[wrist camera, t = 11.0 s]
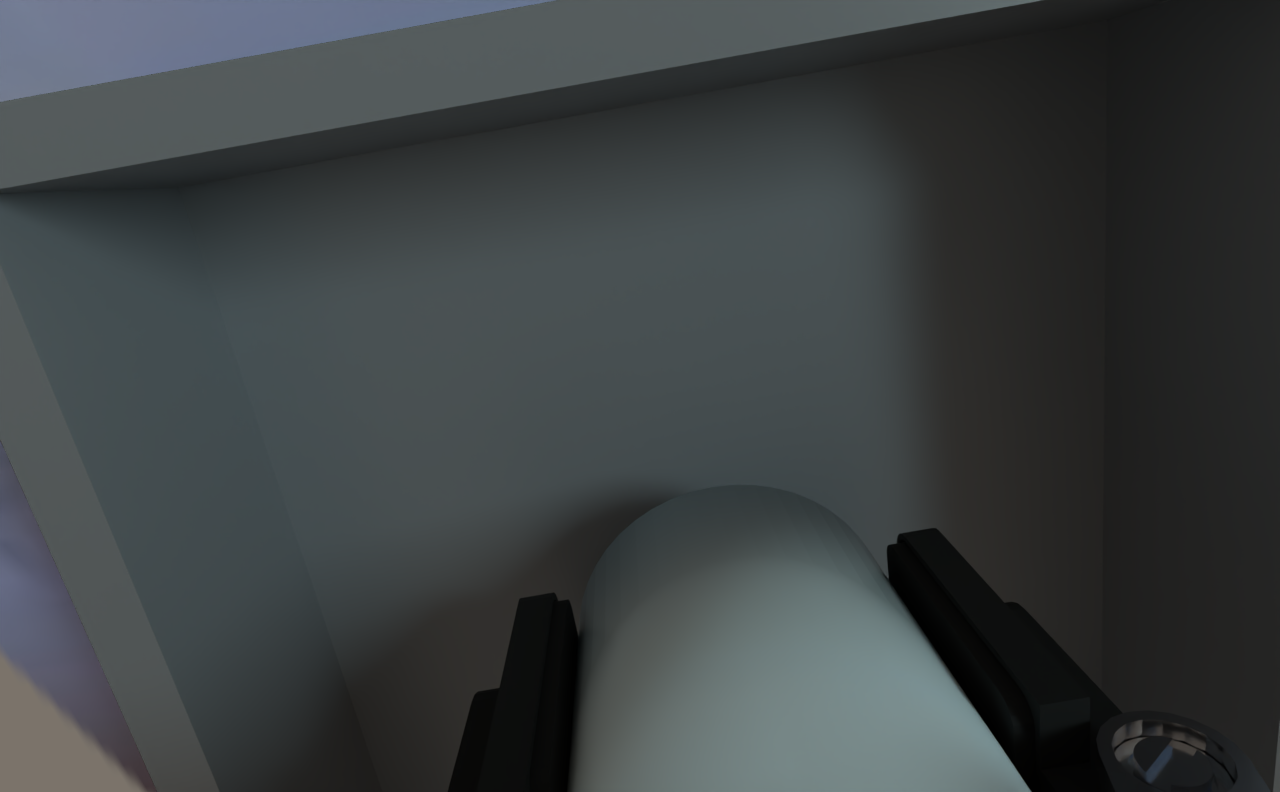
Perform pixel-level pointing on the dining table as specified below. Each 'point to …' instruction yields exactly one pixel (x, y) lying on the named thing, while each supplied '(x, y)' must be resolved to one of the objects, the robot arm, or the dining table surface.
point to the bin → (643, 344)
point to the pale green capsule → (763, 662)
